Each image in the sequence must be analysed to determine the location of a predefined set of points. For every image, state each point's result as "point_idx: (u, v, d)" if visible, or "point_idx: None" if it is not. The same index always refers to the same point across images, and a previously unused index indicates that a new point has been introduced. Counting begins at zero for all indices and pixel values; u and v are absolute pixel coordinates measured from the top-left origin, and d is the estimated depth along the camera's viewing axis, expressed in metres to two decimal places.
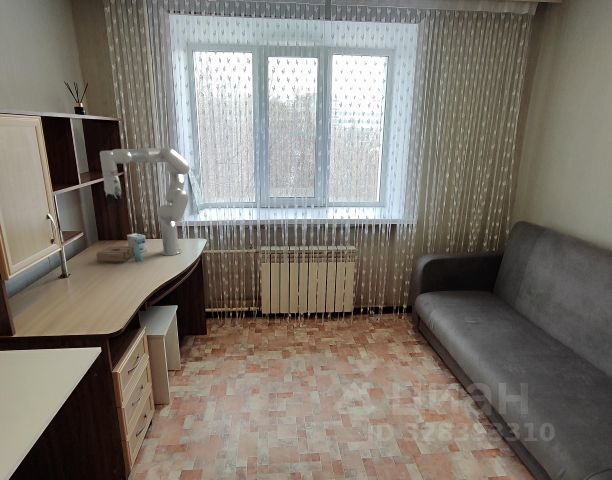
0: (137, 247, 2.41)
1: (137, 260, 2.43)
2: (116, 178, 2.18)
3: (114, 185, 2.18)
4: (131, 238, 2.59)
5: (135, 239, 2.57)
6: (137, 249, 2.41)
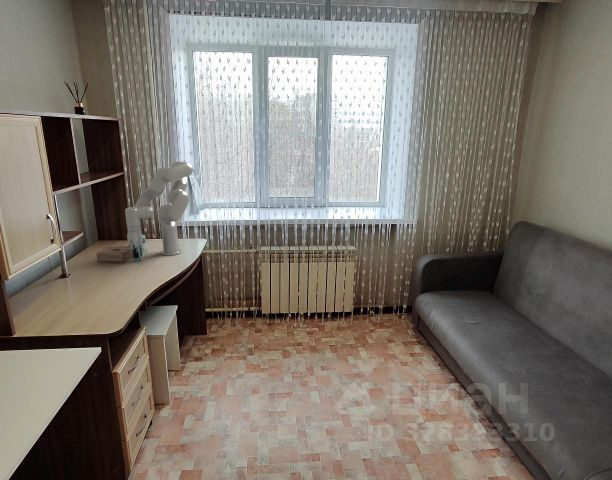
0: (137, 247, 2.41)
1: (137, 260, 2.43)
2: None
3: None
4: None
5: None
6: None
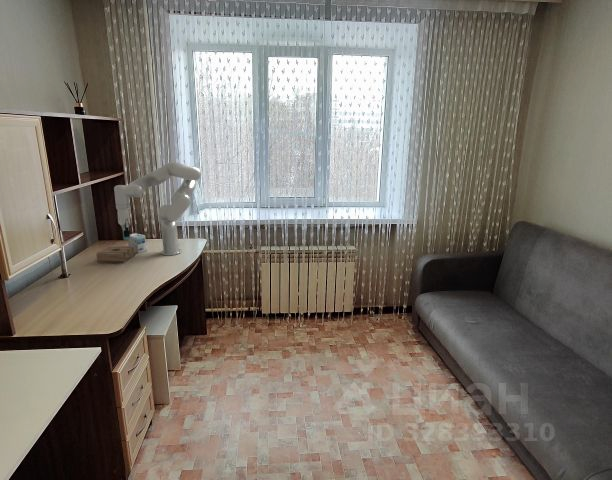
0: None
1: (127, 239, 2.40)
2: None
3: None
4: (131, 238, 2.59)
5: (135, 239, 2.57)
6: None
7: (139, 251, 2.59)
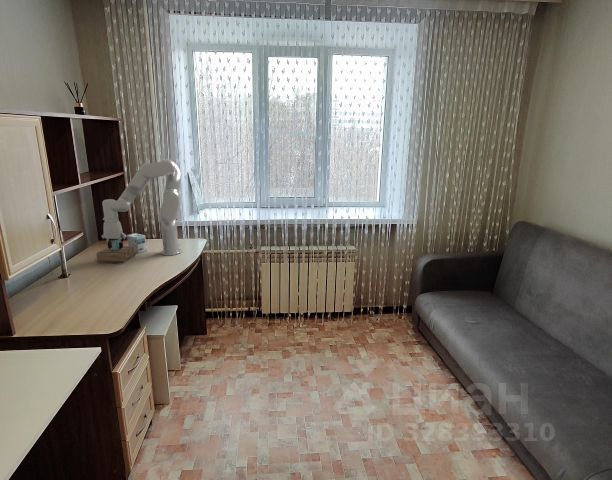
0: None
1: None
2: None
3: None
4: (131, 238, 2.59)
5: (135, 239, 2.57)
6: None
7: (139, 251, 2.59)
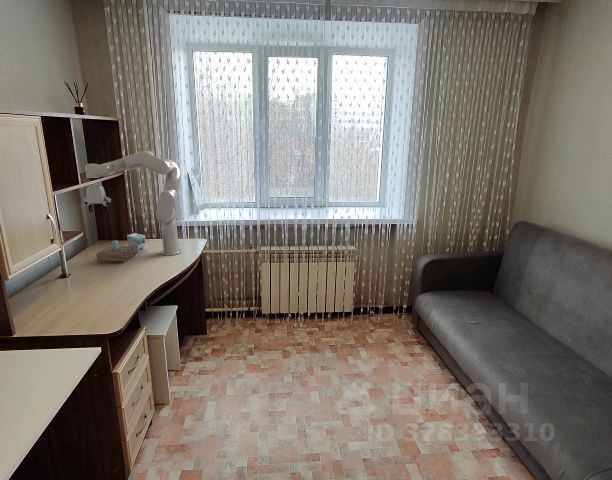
0: None
1: None
2: None
3: None
4: (131, 238, 2.59)
5: (135, 239, 2.57)
6: (117, 244, 2.46)
7: (139, 251, 2.59)
